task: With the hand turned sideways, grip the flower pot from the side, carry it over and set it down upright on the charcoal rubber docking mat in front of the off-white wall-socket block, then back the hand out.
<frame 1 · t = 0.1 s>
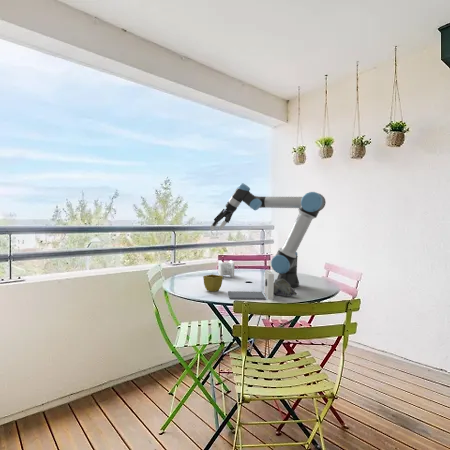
hand: (215, 229, 229), 36 cm above the table, tool tilted 35°, fingers open, 13 cm apart
wall socket block: (268, 296, 191), on the table
cable organizer: (225, 277, 245), on the table
flower pot: (212, 291, 202), on the table
mineral rock: (283, 296, 194), on the table
docking mat: (246, 296, 191), on the table
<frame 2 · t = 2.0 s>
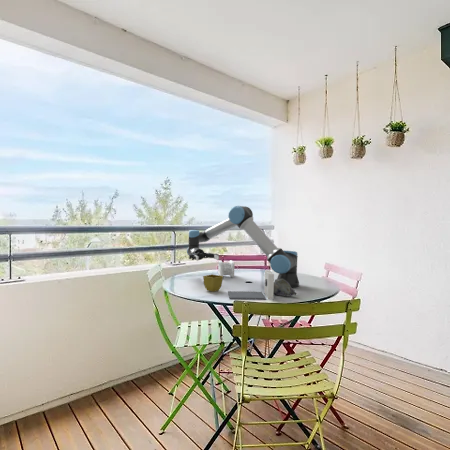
hand: (208, 258, 210), 18 cm above the table, tool horizontal, fingers open, 13 cm apart
nothing on the table moved.
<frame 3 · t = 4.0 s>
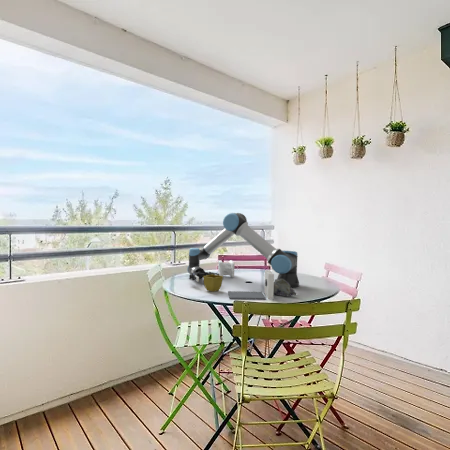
hand: (208, 278, 208), 6 cm above the table, tool horizontal, fingers open, 13 cm apart
nothing on the table moved.
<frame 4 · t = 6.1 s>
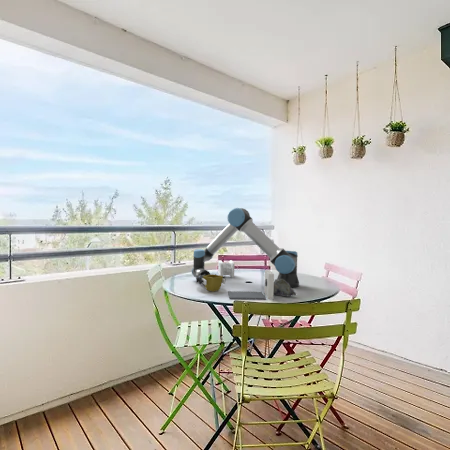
hand: (215, 282, 198), 6 cm above the table, tool horizontal, fingers closed on flower pot, 11 cm apart
flower pot: (212, 291, 202), on the table, touching gripper
everything else where it was.
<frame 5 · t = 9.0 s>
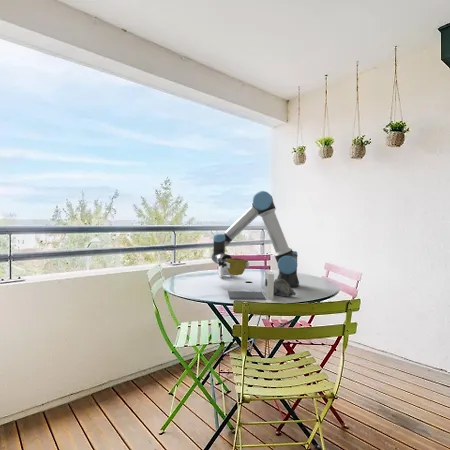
hand: (239, 265, 189), 18 cm above the table, tool horizontal, fingers closed on flower pot, 11 cm apart
flower pot: (236, 275, 192), point 12 cm above the table, touching gripper
everything else where it was.
when the fingers open (8 cm above the table, at t = 11.8 s): flower pot drops 1 cm, resting on docking mat.
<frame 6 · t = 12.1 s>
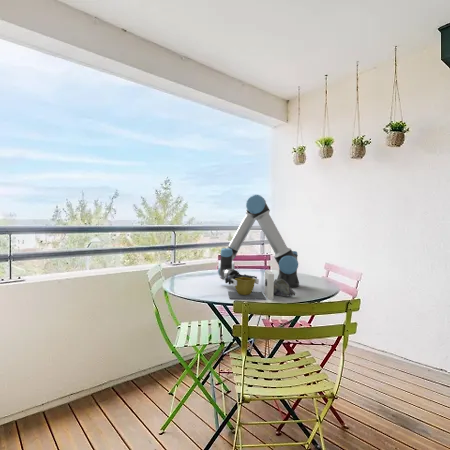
hand: (247, 282, 187), 8 cm above the table, tool horizontal, fingers open, 13 cm apart
flower pot: (244, 294, 191), point 1 cm above the table, touching docking mat
everything else where it was.
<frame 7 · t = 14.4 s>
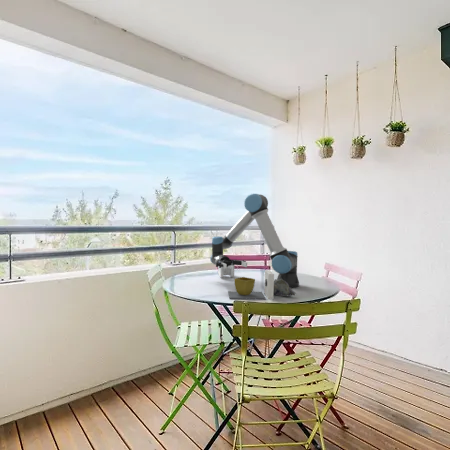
hand: (236, 265, 199), 16 cm above the table, tool horizontal, fingers open, 13 cm apart
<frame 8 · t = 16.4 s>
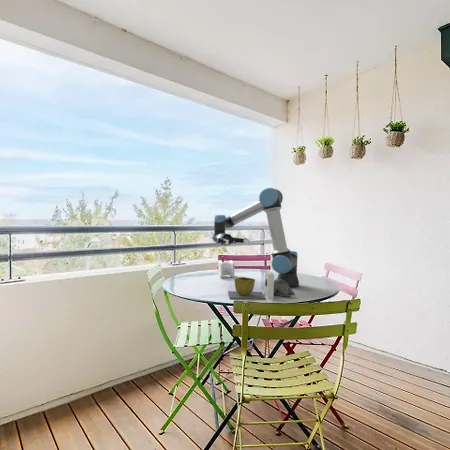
hand: (238, 242, 198), 30 cm above the table, tool horizontal, fingers open, 13 cm apart
at the end: flower pot inside the target area on the docking mat (1.1 cm from its centre), point 0.8 cm above the docking mat's base; flower pot tilted 0°; the gripper is holding nothing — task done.
